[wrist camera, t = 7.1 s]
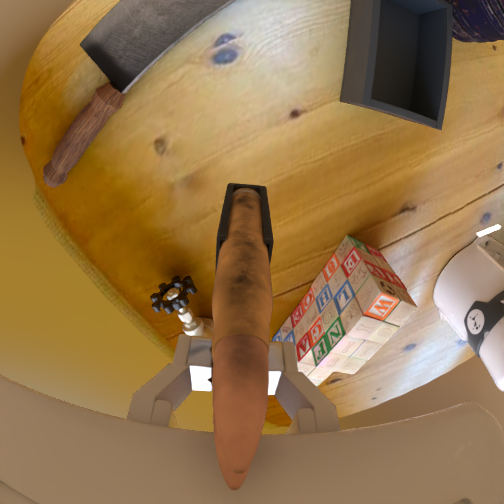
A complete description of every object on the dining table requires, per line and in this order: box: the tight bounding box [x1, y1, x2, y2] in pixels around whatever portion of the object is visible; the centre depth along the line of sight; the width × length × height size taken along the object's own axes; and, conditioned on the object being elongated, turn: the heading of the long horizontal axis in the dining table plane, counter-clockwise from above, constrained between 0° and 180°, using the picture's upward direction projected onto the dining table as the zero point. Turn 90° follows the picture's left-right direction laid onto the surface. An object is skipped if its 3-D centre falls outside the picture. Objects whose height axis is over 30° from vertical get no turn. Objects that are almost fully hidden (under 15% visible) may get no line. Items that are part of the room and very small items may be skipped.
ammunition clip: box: [212, 183, 274, 490], centre depth 11 cm, size 11×2×12 cm, turn 174°
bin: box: [340, 0, 452, 130], centre depth 21 cm, size 10×16×7 cm, turn 174°
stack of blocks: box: [272, 235, 417, 387], centre depth 36 cm, size 21×6×12 cm, turn 155°
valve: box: [150, 276, 214, 338], centre depth 39 cm, size 7×7×12 cm
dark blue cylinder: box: [444, 0, 504, 43], centre depth 12 cm, size 10×10×15 cm
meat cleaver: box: [44, 0, 235, 187], centre depth 22 cm, size 34×11×4 cm, turn 131°
